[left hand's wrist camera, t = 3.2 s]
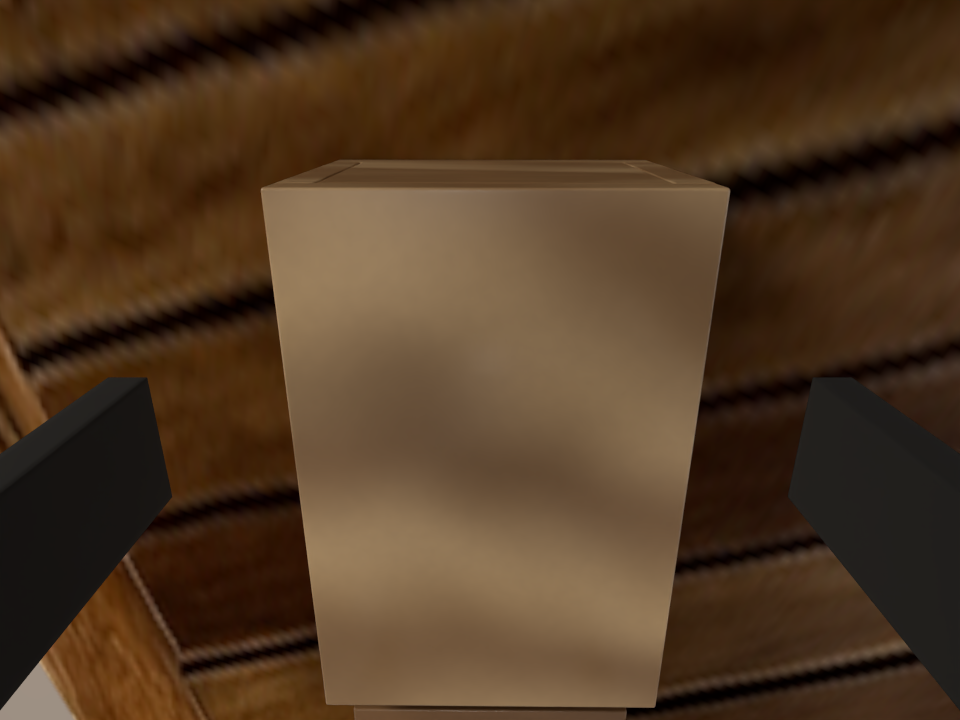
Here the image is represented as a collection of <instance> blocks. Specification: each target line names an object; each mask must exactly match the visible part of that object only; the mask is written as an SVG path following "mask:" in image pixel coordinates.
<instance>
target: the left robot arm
mask: <svg viewBox="0 0 960 720" xmlns="http://www.w3.org/2000/svg"><path fill="white" fill-rule="evenodd" d="M171 498H172V494H171V489H170V484H169V479H168V475H167V470H166V465H165V460H164V456H163V451H162V446H161V441H160V437H159V432H158V427H157V422H156V418H155V413H154V408H153V404H152V399H151V394H150V389H149V385H148V380H147V378H107V379H106V380H104V381H103V382H101V383H100V384H98V385H97V386H96V387H94V388H93V389H91V390H90V391H89V392H87V393H86V394H84V395H83V396H82V397H80V398H79V399H77V400H76V401H74V402H73V403H72V404H70V405H69V406H67V407H66V408H65V409H63V410H62V411H60V412H59V413H58V414H56V415H55V416H53V417H52V418H50V419H49V420H48V421H46V422H45V423H43V424H42V425H41V426H39V427H38V428H36V429H35V430H34V431H32V432H31V433H29V434H28V435H26V436H25V437H24V438H22V439H21V440H19V441H18V442H17V443H15V444H14V445H12V446H11V447H9V448H8V449H7V450H5V451H4V452H2V453H1V454H0V710H1V709H2V707H3V706H4V705H5V704H6V702H7V701H8V700H9V699H10V697H11V696H12V695H13V694H14V692H15V691H16V690H17V689H18V688H19V686H20V685H21V684H22V682H23V681H24V680H25V679H26V678H27V676H28V675H29V674H30V673H31V671H32V670H33V669H34V668H35V666H36V665H37V664H38V663H39V661H40V660H41V659H42V658H43V656H44V655H45V654H46V653H47V652H48V650H49V649H50V648H51V647H52V645H53V644H54V643H55V642H56V640H57V639H58V638H59V637H60V635H61V634H62V633H63V632H64V630H65V629H66V628H67V627H68V625H69V624H70V623H71V622H72V620H73V619H74V618H75V617H76V615H77V614H78V613H79V612H80V611H81V609H82V608H83V607H84V606H85V604H86V603H87V602H88V601H89V599H90V598H91V597H92V596H93V594H94V593H95V592H96V591H97V589H98V588H99V587H100V586H101V584H102V583H103V582H104V581H105V579H106V578H107V577H108V576H109V575H110V573H111V572H112V571H113V570H114V568H115V567H116V566H117V565H118V563H119V562H120V561H121V560H122V558H123V557H124V556H125V555H126V553H127V552H128V551H129V550H130V548H131V547H132V546H133V545H134V543H135V542H136V541H137V540H138V538H139V537H140V536H141V535H142V534H143V532H144V531H145V530H146V529H147V527H148V526H149V525H150V524H151V522H152V521H153V520H154V519H155V517H156V516H157V515H158V514H159V512H160V511H161V510H162V509H163V507H164V506H165V505H166V504H167V502H168V501H169V500H170V499H171ZM788 498H789V499H790V500H791V501H792V502H793V504H794V505H795V506H796V507H797V509H798V510H799V511H800V512H801V514H802V515H803V516H804V517H805V519H806V520H807V521H808V522H809V524H810V525H811V526H812V527H813V529H814V530H815V531H816V532H817V534H818V535H819V536H820V537H821V539H822V540H823V541H824V542H825V543H826V545H827V546H828V547H829V548H830V550H831V551H832V552H833V553H834V555H835V556H836V557H837V558H838V560H839V561H840V562H841V563H842V565H843V566H844V567H845V568H846V570H847V571H848V572H849V573H850V575H851V576H852V577H853V578H854V579H855V581H856V582H857V583H858V584H859V586H860V587H861V588H862V589H863V591H864V592H865V593H866V594H867V596H868V597H869V598H870V599H871V601H872V602H873V603H874V604H875V606H876V607H877V608H878V609H879V611H880V612H881V613H882V614H883V615H884V617H885V618H886V619H887V620H888V622H889V623H890V624H891V625H892V627H893V628H894V629H895V630H896V632H897V633H898V634H899V635H900V637H901V638H902V639H903V640H904V642H905V643H906V644H907V645H908V647H909V648H910V649H911V650H912V652H913V653H914V654H915V655H916V656H917V658H918V659H919V660H920V661H921V663H922V664H923V665H924V666H925V668H926V669H927V670H928V671H929V673H930V674H931V675H932V676H933V678H934V679H935V680H936V681H937V683H938V684H939V685H940V686H941V688H942V689H943V690H944V691H945V692H946V694H947V695H948V696H949V697H950V699H951V700H952V701H953V702H954V704H955V705H956V706H957V707H958V709H959V710H960V454H959V453H958V452H956V451H955V450H953V449H952V448H951V447H949V446H948V445H946V444H945V443H943V442H942V441H941V440H939V439H938V438H936V437H935V436H934V435H932V434H931V433H929V432H928V431H926V430H925V429H924V428H922V427H921V426H919V425H918V424H917V423H915V422H914V421H912V420H911V419H910V418H908V417H907V416H905V415H904V414H902V413H901V412H900V411H898V410H897V409H895V408H894V407H893V406H891V405H890V404H888V403H887V402H886V401H884V400H883V399H881V398H880V397H878V396H877V395H876V394H874V393H873V392H871V391H870V390H869V389H867V388H866V387H864V386H863V385H862V384H860V383H859V382H857V381H856V380H854V379H853V378H813V380H812V385H811V389H810V394H809V399H808V404H807V408H806V413H805V418H804V422H803V427H802V432H801V437H800V441H799V446H798V451H797V456H796V460H795V465H794V470H793V475H792V479H791V484H790V489H789V494H788Z"/></svg>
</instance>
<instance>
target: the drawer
mask: <svg viewBox="0 0 960 720" xmlns="http://www.w3.org/2000/svg"><path fill="white" fill-rule="evenodd" d="M626 713H627V711H626V707H524V706H413V705H355V706H354V716H355V720H626Z"/></svg>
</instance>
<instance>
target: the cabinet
mask: <svg viewBox="0 0 960 720" xmlns="http://www.w3.org/2000/svg"><path fill="white" fill-rule="evenodd" d="M261 196H262V204H263V212H264V219H265V227H266V235H267V243H268V251H269V259H270V266H271V274H272V282H273V290H274V298H275V306H276V314H277V321H278V329H279V337H280V345H281V353H282V361H283V368H284V376H285V384H286V392H287V400H288V408H289V415H290V423H291V431H292V439H293V447H294V455H295V462H296V470H297V478H298V486H299V494H300V502H301V509H302V517H303V525H304V533H305V541H306V549H307V557H308V564H309V572H310V580H311V588H312V596H313V604H314V611H315V619H316V627H317V635H318V643H319V651H320V658H321V666H322V674H323V682H324V690H325V698H326V704H328V705H413V706H524V707H635V708H654V707H655V705H656V698H657V691H658V684H659V677H660V670H661V663H662V657H663V650H664V643H665V636H666V629H667V622H668V615H669V608H670V602H671V595H672V588H673V581H674V574H675V567H676V560H677V553H678V547H679V540H680V533H681V526H682V519H683V512H684V505H685V498H686V492H687V485H688V478H689V471H690V464H691V457H692V450H693V443H694V437H695V430H696V423H697V416H698V409H699V402H700V395H701V388H702V382H703V375H704V368H705V361H706V354H707V347H708V340H709V333H710V327H711V320H712V313H713V306H714V299H715V292H716V285H717V278H718V272H719V265H720V258H721V251H722V244H723V237H724V230H725V223H726V217H727V210H728V203H729V196H730V189H729V188H727V187H724V186H721V185H718V184H716V183H713V182H710V181H707V180H704V179H701V178H698V177H695V176H692V175H689V174H686V173H683V172H680V171H677V170H674V169H671V168H668V167H665V166H662V165H659V164H656V163H653V162H649V161H646V160H338V161H335V162H332V163H330V164H327V165H324V166H321V167H318V168H316V169H313V170H310V171H307V172H305V173H302V174H299V175H296V176H293V177H291V178H288V179H285V180H282V181H279V182H277V183H274V184H271V185H268V186H266V187H263V188H261Z"/></svg>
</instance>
